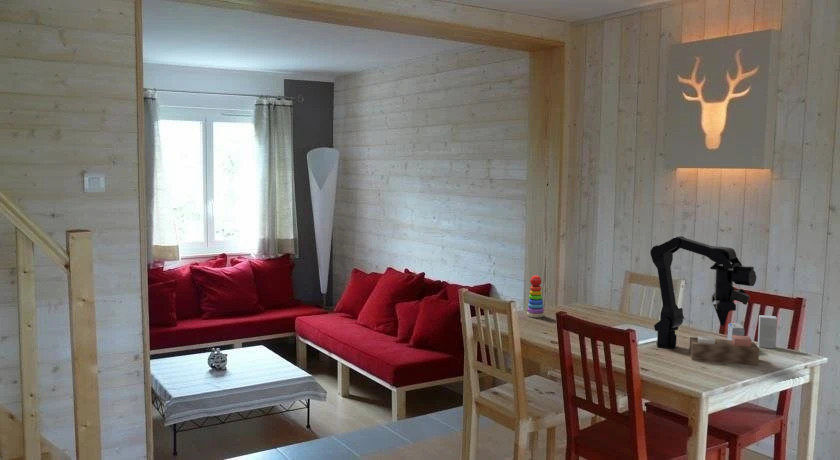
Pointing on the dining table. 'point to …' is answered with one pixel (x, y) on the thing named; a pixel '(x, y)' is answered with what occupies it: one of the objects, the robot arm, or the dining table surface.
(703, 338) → the ivory key
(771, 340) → the skincare box
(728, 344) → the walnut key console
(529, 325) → the dining table surface
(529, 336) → the dining table surface
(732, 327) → the medicine box
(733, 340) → the brick-red key
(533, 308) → the stacking toy
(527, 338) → the dining table surface
